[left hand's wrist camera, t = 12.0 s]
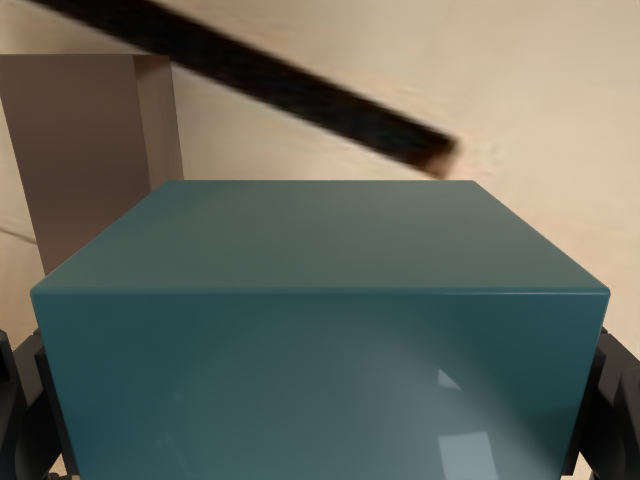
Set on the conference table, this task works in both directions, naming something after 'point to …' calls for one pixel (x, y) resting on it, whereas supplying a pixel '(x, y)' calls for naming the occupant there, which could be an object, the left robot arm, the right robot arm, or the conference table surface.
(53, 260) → the tall bronze post
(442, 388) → the cap block
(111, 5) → the conference table surface
